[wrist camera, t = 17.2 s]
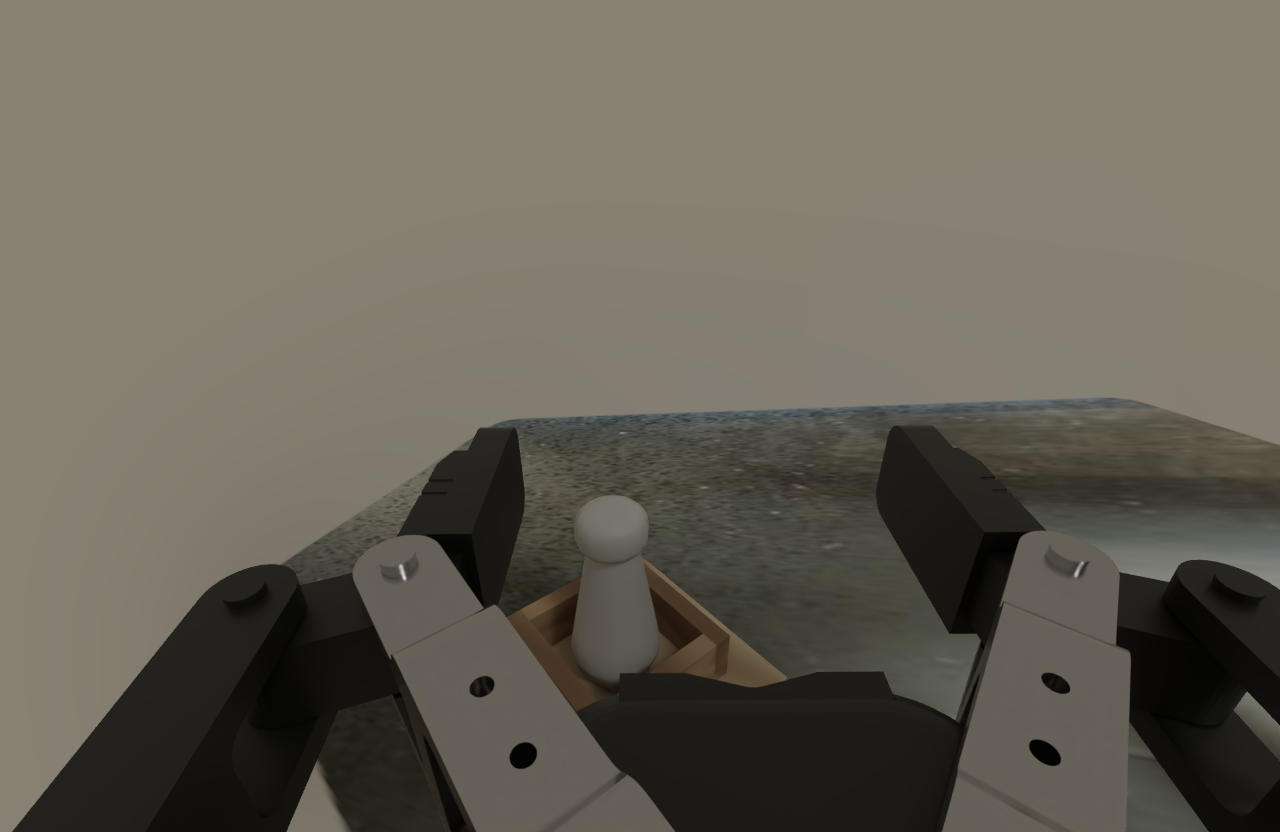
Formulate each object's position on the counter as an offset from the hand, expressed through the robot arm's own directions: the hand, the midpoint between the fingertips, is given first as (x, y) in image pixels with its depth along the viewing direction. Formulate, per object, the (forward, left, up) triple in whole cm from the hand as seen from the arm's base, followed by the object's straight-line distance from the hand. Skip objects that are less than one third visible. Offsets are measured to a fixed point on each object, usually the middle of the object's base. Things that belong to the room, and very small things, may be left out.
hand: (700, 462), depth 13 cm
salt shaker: (-8, -14, -27) cm, 31 cm away
